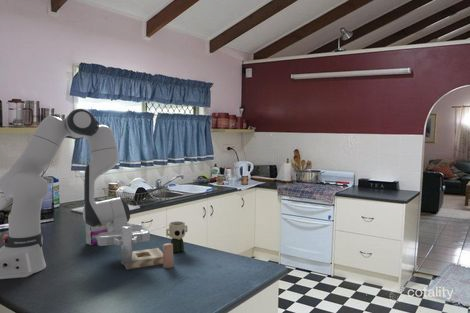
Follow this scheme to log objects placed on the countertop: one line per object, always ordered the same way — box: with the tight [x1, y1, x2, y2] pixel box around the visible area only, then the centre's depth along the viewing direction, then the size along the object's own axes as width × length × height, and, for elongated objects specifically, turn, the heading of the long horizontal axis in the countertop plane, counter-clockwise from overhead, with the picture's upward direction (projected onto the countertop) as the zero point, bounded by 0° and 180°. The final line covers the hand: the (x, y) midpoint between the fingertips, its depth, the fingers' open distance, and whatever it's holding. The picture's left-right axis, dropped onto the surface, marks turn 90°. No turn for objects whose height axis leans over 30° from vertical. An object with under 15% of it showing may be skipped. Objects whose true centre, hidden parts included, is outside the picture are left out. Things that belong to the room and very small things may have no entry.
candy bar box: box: [84, 222, 107, 246], centre depth 189 cm, size 11×5×16 cm, turn 143°
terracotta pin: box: [162, 242, 174, 269], centre depth 158 cm, size 4×4×9 cm
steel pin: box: [120, 226, 133, 266], centre depth 149 cm, size 4×4×14 cm
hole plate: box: [124, 247, 163, 270], centre depth 163 cm, size 16×12×3 cm
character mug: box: [165, 221, 188, 253], centre depth 176 cm, size 11×7×13 cm, turn 129°
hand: (127, 242), depth 149 cm, fingers closed on steel pin, 4 cm apart
